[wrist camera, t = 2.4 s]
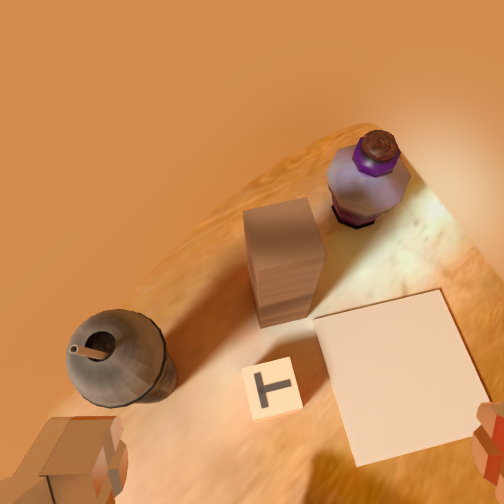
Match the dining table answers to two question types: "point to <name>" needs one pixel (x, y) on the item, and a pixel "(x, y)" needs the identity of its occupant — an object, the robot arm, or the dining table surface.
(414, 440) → the white square plate
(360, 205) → the potion bottle
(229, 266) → the dining table surface
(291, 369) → the letter cube
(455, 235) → the dining table surface
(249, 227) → the walnut block
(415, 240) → the dining table surface
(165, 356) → the beverage cup
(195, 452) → the dining table surface
